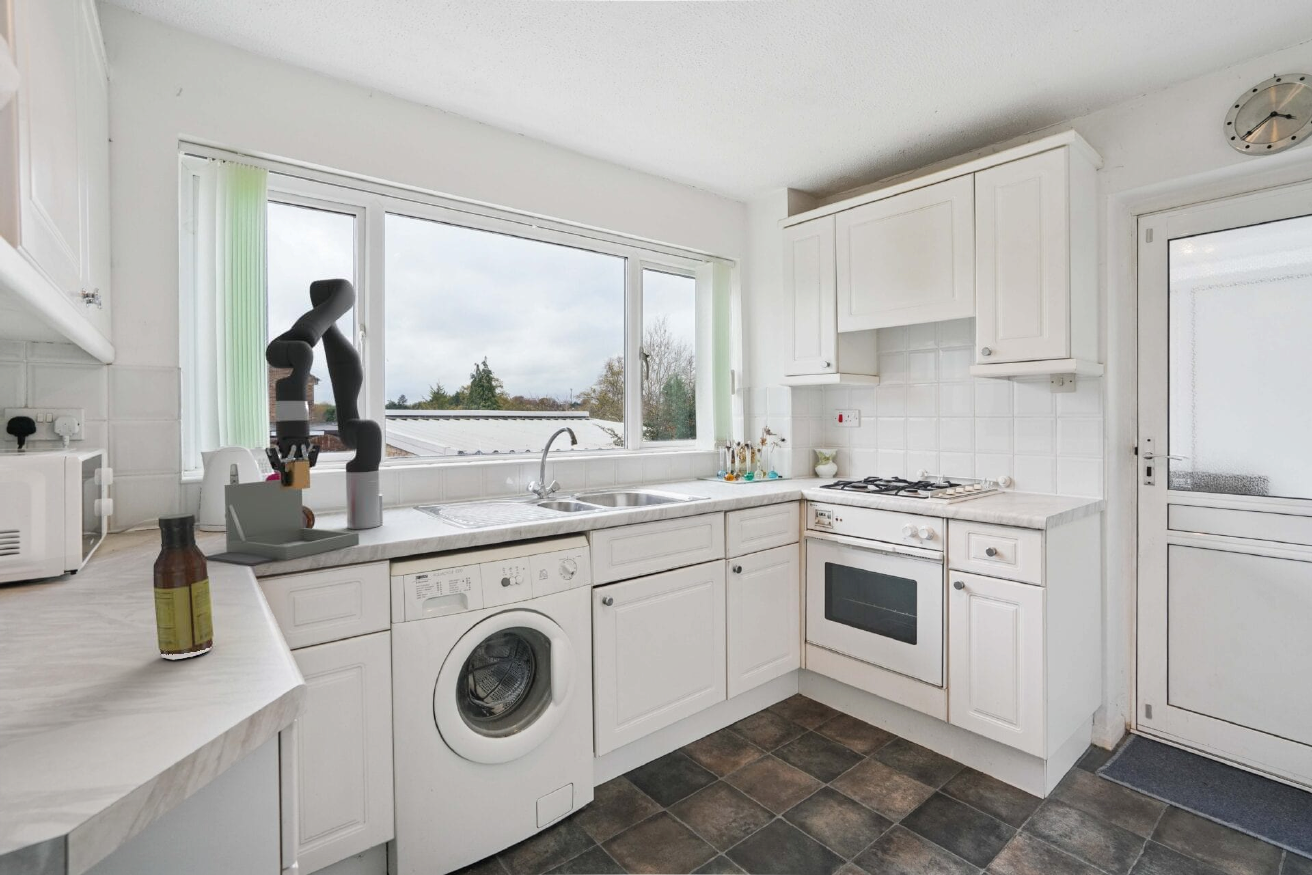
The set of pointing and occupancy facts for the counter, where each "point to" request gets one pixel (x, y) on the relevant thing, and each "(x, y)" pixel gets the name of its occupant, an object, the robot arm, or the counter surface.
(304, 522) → the brown rounded piece
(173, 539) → the sauce bottle
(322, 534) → the case
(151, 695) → the counter surface
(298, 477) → the block
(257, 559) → the mat
